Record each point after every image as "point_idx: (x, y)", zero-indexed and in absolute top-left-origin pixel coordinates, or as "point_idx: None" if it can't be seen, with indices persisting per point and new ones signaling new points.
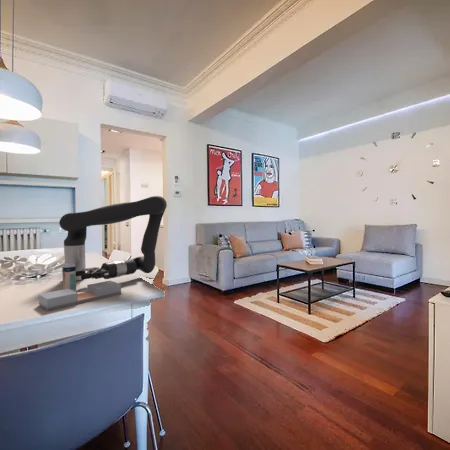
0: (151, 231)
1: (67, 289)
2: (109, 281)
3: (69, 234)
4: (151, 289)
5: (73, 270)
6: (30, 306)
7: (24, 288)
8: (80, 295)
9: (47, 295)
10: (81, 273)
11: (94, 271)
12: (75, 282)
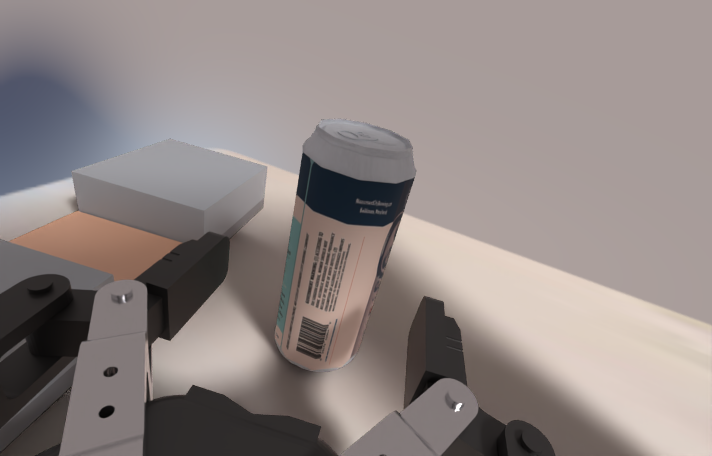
0: None
1: (192, 200)
2: None
3: None
4: None
5: (298, 186)
6: (283, 201)
7: (627, 332)
8: (122, 260)
9: (212, 157)
10: (412, 383)
11: (129, 337)
12: (292, 300)
